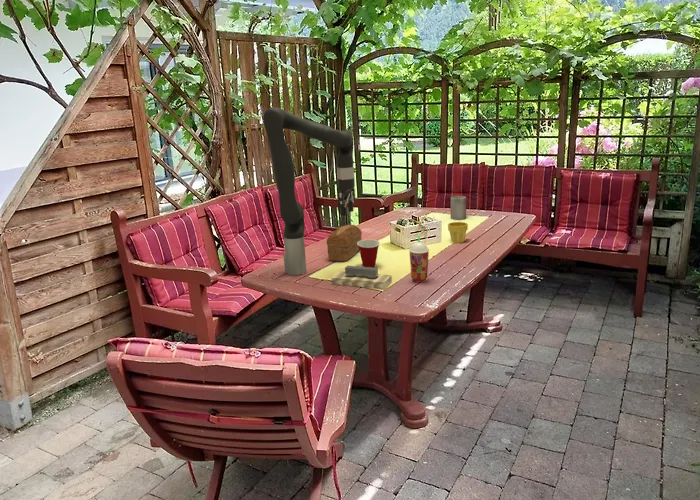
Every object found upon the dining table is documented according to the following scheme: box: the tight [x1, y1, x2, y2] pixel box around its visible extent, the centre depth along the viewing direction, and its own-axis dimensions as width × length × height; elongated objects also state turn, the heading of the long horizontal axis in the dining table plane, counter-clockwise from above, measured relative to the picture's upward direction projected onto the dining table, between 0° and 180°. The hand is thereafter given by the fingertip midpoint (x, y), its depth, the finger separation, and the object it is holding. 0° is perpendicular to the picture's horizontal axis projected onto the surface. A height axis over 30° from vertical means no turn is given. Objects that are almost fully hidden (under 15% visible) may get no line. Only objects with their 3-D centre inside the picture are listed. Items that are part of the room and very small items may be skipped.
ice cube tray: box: [331, 270, 393, 290], centre depth 247 cm, size 24×10×3 cm, turn 68°
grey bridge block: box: [344, 265, 379, 279], centre depth 247 cm, size 14×3×7 cm, turn 68°
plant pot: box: [447, 221, 469, 244], centre depth 305 cm, size 10×10×10 cm
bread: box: [326, 224, 363, 262], centre depth 289 cm, size 12×28×14 cm, turn 161°
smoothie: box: [409, 235, 430, 283], centre depth 245 cm, size 8×8×20 cm
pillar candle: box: [450, 195, 467, 221], centre depth 357 cm, size 10×10×15 cm
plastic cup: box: [357, 239, 381, 268], centre depth 268 cm, size 11×11×12 cm
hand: (347, 213), depth 253 cm, fingers open, 8 cm apart
